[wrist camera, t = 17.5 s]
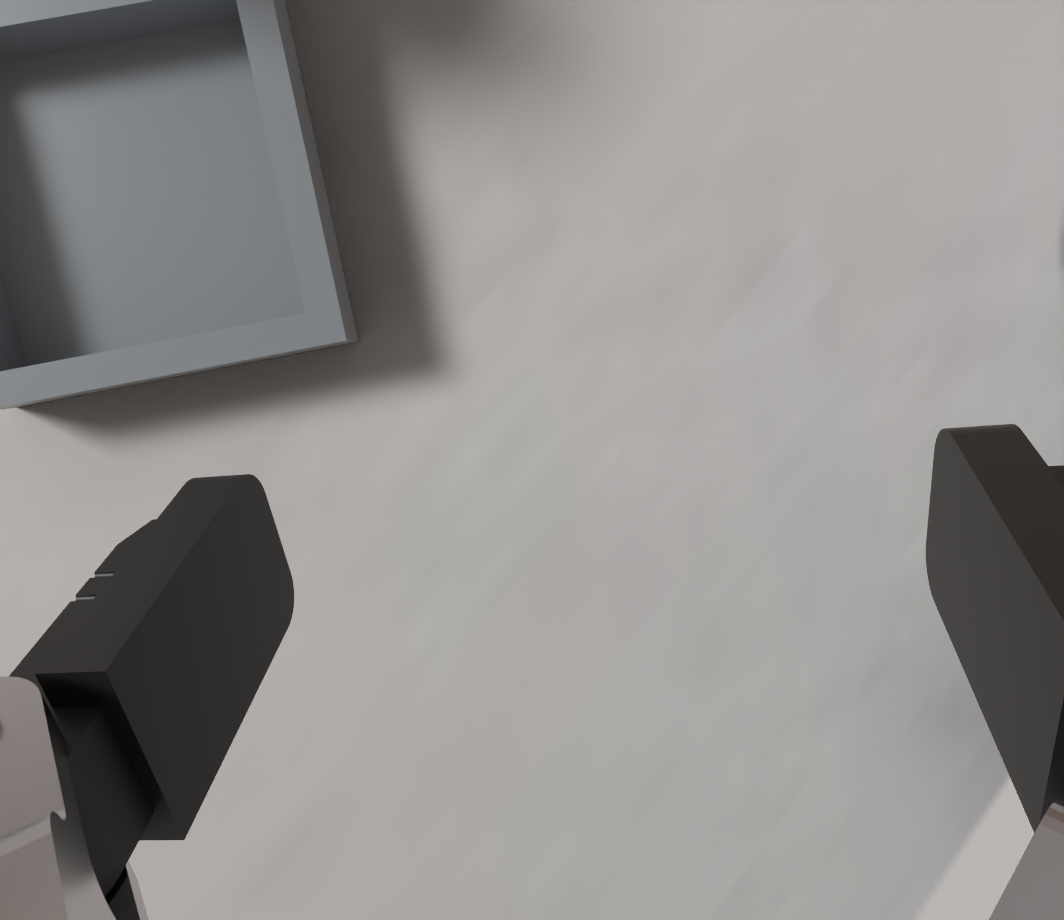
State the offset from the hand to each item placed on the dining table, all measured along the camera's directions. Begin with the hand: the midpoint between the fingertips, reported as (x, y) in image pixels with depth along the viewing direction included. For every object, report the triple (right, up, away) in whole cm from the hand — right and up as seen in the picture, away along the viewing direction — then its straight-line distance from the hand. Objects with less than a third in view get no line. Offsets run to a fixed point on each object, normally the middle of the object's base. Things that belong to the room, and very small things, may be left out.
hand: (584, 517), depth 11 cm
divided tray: (-16, +16, +24) cm, 33 cm away
